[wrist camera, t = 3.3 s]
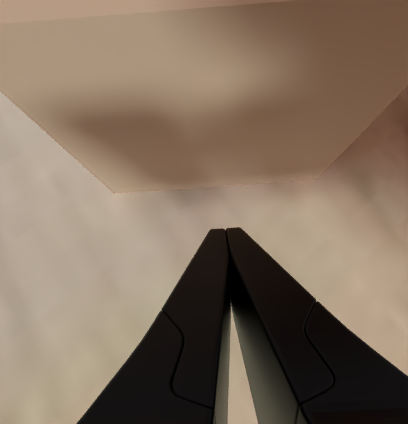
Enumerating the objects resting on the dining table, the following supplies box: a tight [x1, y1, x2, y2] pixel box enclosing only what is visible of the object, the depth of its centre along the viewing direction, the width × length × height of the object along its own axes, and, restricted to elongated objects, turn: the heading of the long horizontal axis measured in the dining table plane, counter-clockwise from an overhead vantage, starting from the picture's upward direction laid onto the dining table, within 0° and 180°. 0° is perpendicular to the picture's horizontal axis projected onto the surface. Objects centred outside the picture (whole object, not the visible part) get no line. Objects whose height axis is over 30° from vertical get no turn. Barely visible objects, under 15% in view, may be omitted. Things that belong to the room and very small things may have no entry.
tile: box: [0, 0, 408, 193], centre depth 12 cm, size 2×12×12 cm, turn 94°
